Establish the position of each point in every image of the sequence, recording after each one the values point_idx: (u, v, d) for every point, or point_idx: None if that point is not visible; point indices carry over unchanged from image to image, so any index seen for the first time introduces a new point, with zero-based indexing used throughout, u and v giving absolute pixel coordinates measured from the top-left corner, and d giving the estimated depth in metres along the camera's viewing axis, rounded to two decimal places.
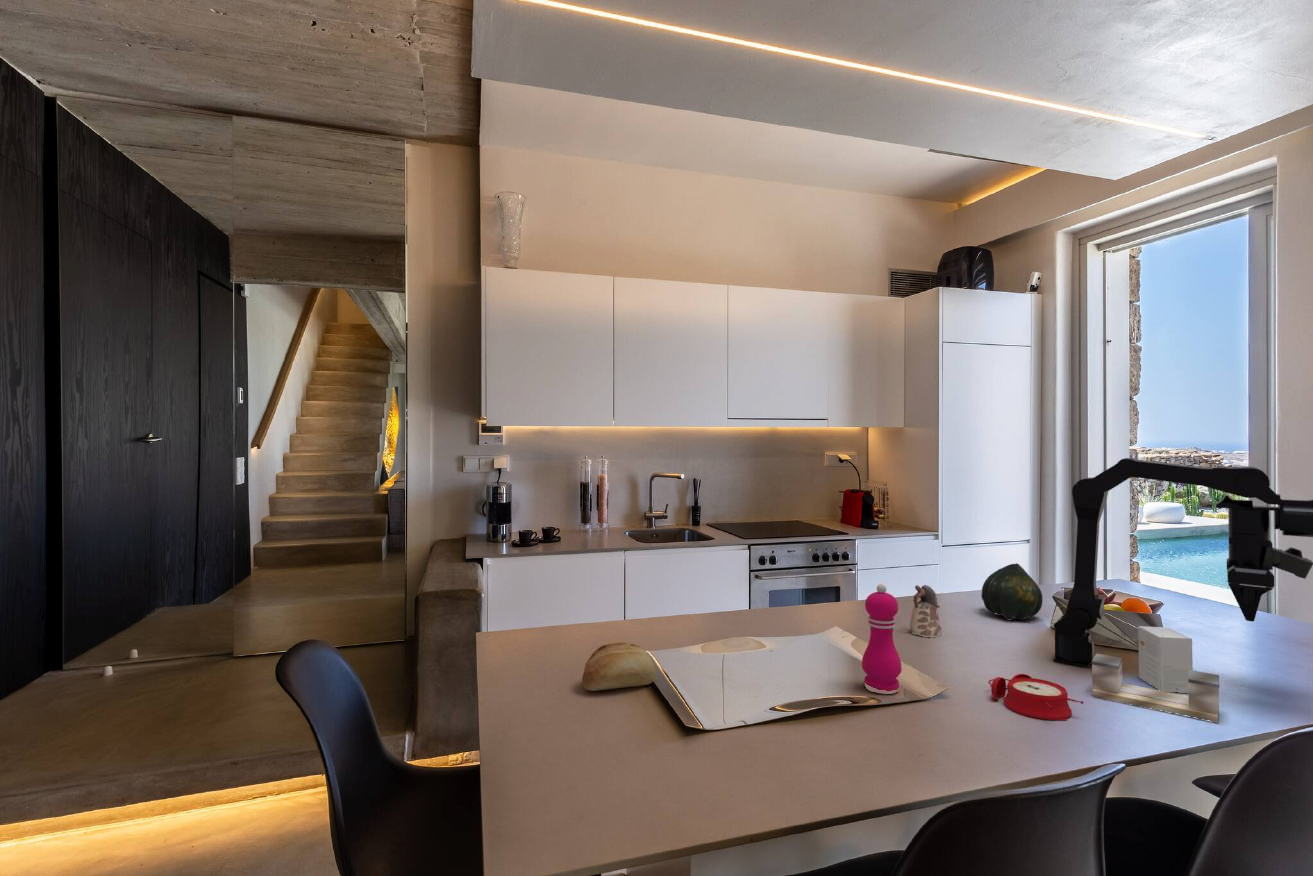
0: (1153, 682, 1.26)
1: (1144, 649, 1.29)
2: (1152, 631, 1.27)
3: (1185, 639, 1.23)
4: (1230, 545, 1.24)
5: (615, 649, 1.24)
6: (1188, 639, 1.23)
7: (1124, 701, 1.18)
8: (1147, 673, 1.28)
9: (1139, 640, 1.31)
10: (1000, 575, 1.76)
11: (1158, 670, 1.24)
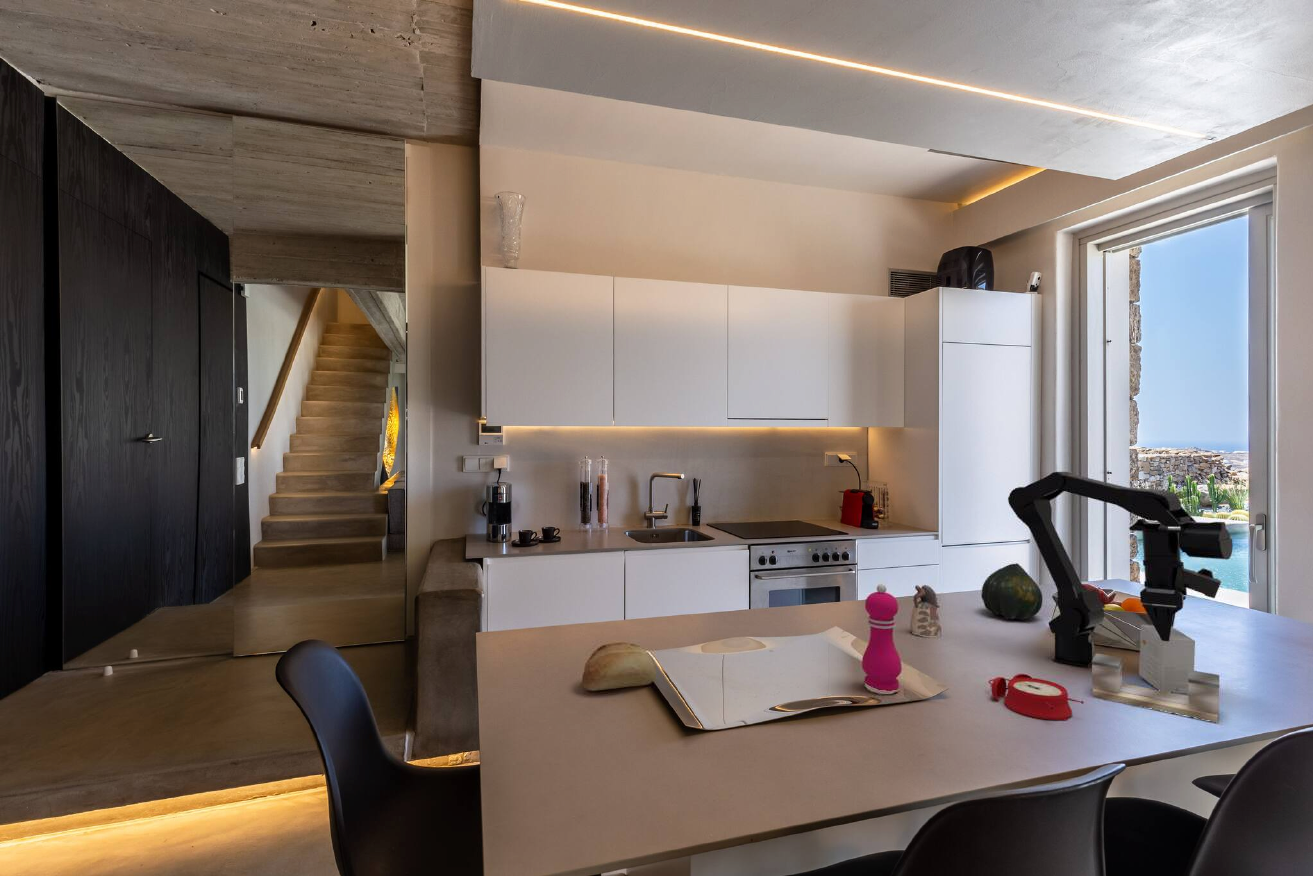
0: (1153, 681, 1.26)
1: (1145, 648, 1.29)
2: (1155, 631, 1.27)
3: (1188, 641, 1.22)
4: (1145, 567, 1.28)
5: (615, 649, 1.24)
6: (1191, 641, 1.22)
7: (1124, 701, 1.18)
8: (1148, 672, 1.28)
9: (1141, 638, 1.30)
10: (1000, 575, 1.76)
11: (1159, 671, 1.24)
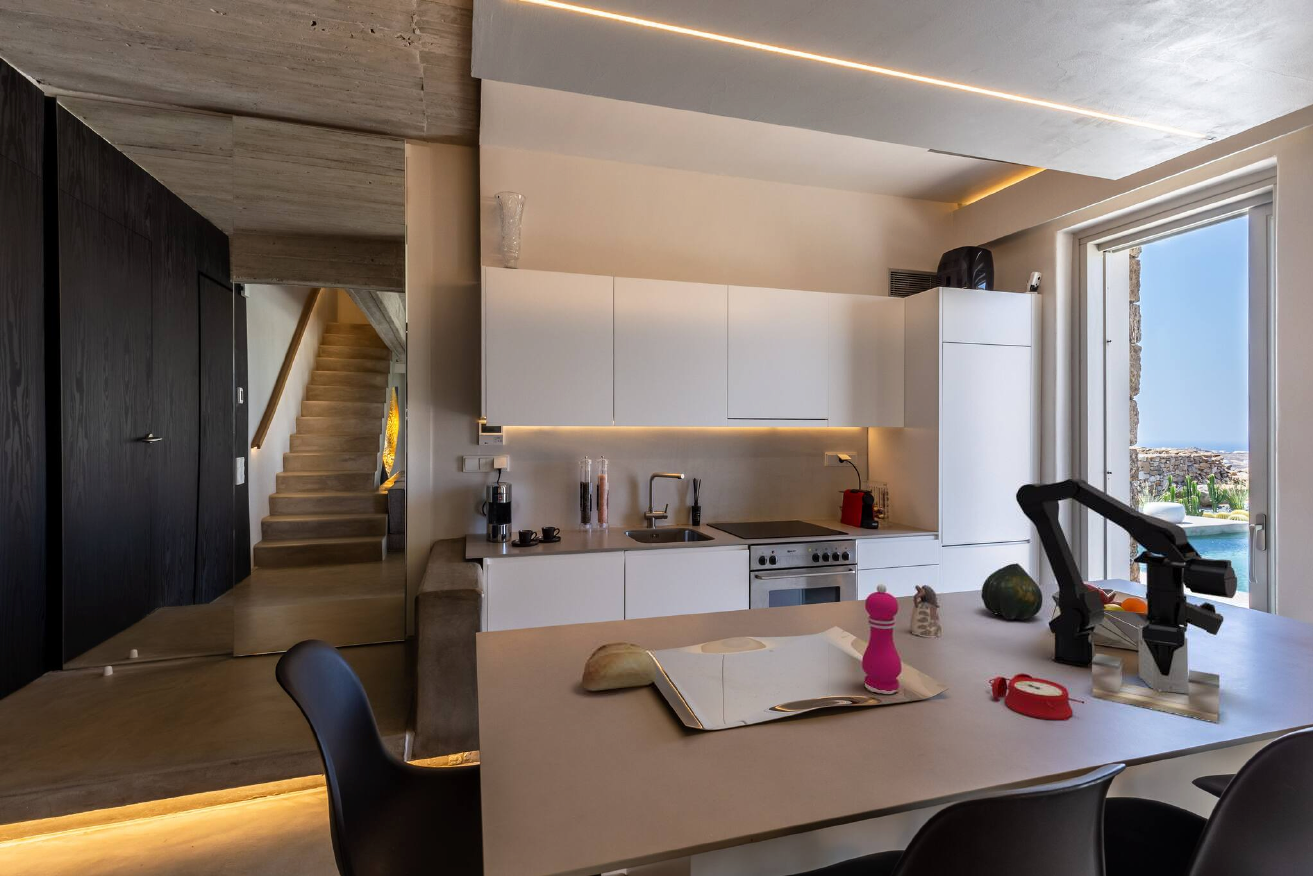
0: (1148, 681, 1.26)
1: (1142, 648, 1.30)
2: None
3: None
4: (1148, 600, 1.28)
5: (615, 649, 1.24)
6: None
7: (1124, 701, 1.18)
8: (1144, 672, 1.28)
9: (1139, 639, 1.31)
10: (1000, 575, 1.76)
11: (1152, 669, 1.25)
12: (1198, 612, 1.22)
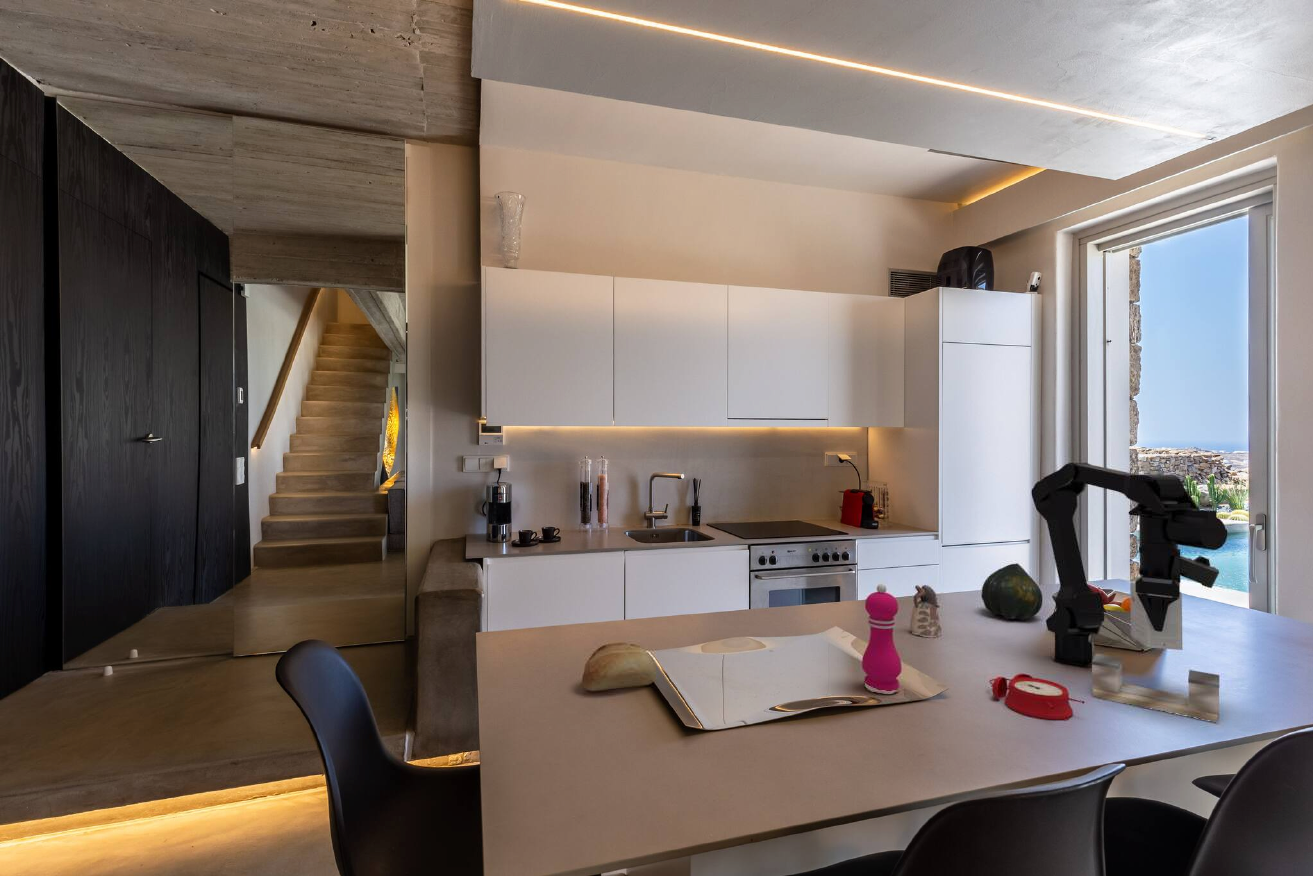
0: (1141, 638, 1.21)
1: (1134, 605, 1.24)
2: None
3: None
4: (1141, 554, 1.22)
5: (615, 649, 1.24)
6: None
7: (1124, 701, 1.18)
8: (1137, 629, 1.23)
9: (1131, 596, 1.26)
10: (1000, 575, 1.76)
11: (1145, 625, 1.19)
12: (1193, 565, 1.17)
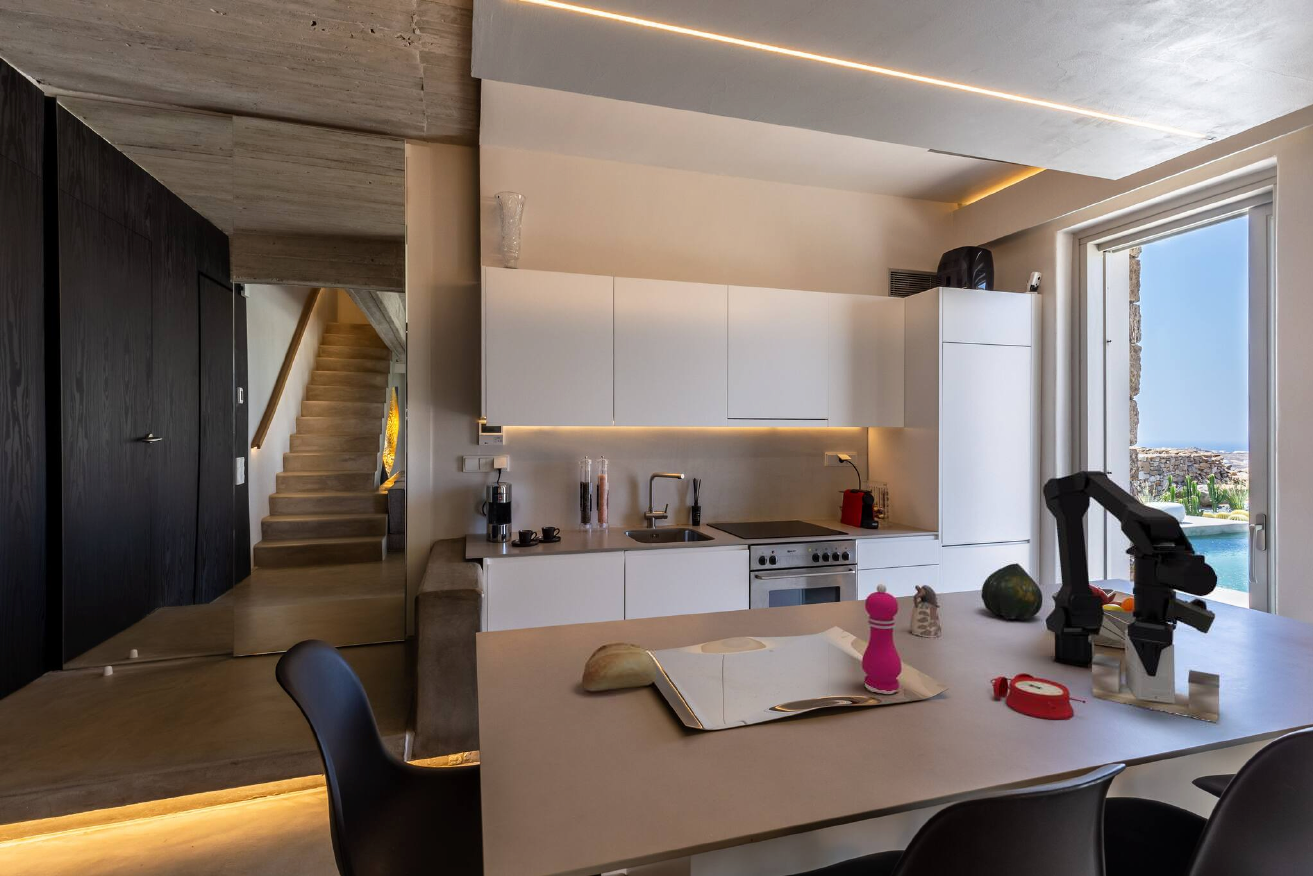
0: (1133, 689, 1.19)
1: (1128, 654, 1.22)
2: None
3: None
4: (1135, 595, 1.19)
5: (615, 649, 1.24)
6: None
7: (1124, 701, 1.18)
8: (1130, 679, 1.20)
9: (1125, 645, 1.23)
10: (1000, 575, 1.76)
11: (1136, 676, 1.17)
12: (1188, 609, 1.14)
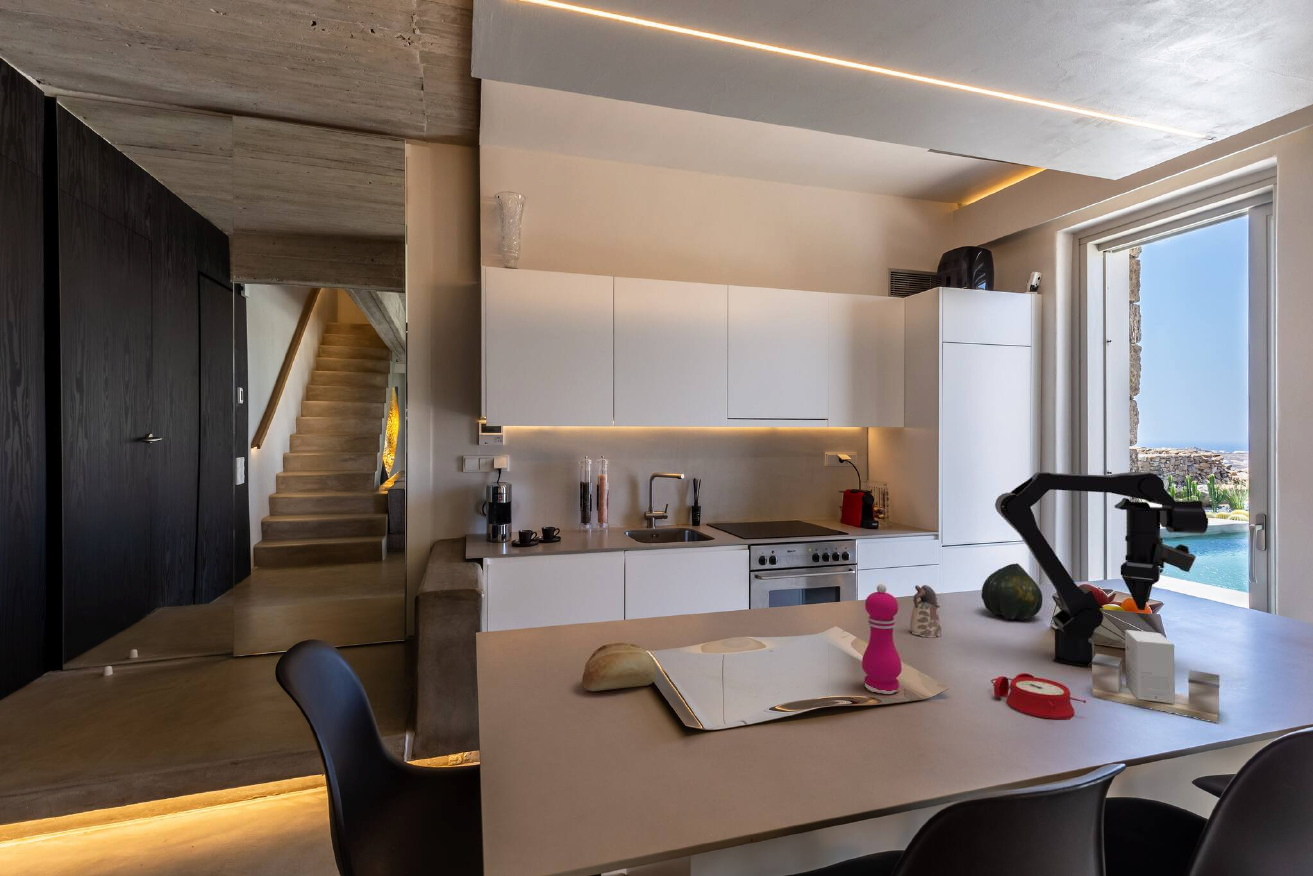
0: (1133, 689, 1.19)
1: (1128, 654, 1.22)
2: (1135, 635, 1.20)
3: (1166, 645, 1.15)
4: (1127, 542, 1.38)
5: (615, 649, 1.24)
6: (1169, 645, 1.15)
7: (1124, 701, 1.18)
8: (1130, 679, 1.20)
9: (1125, 645, 1.23)
10: (1000, 575, 1.76)
11: (1136, 676, 1.17)
12: (1172, 551, 1.32)
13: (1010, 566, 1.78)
